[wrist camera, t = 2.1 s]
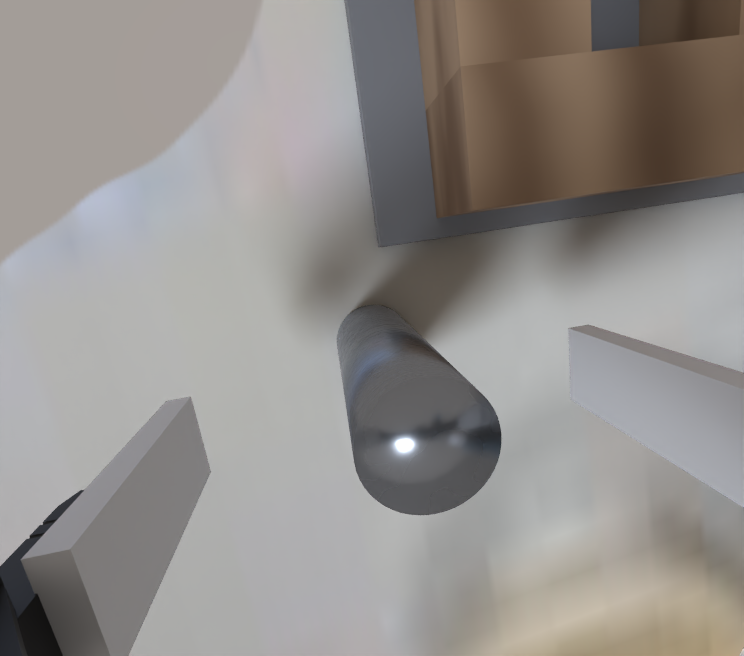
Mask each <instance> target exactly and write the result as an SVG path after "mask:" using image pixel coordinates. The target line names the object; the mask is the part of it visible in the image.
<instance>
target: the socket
mask: <svg viewBox="0 0 744 656" xmlns="http://www.w3.org/2000/svg"><path fill="white" fill-rule="evenodd" d="M345 8H346V15H347V22H348V29H349V37H350V44H351V51H352V59H353V66H354V73H355V80H356V88H357V95H358V102H359V109H360V117H361V124H362V131H363V139H364V146H365V153H366V160H367V168H368V175H369V182H370V189H371V197H372V204H373V211H374V219H375V226H376V233H377V240H378V247H385V246H392V245H398V244H405V243H411V242H418V241H425V240H431V239H438V238H445V237H451V236H458V235H465V234H471V233H478V232H484V231H491V230H498V229H504V228H511V227H518V226H524V225H531V224H538V223H544V222H551V221H558V220H564V219H571V218H577V217H584V216H591V215H597V214H604V213H611V212H617V211H624V210H631V209H637V208H644V207H651V206H657V205H664V204H670V203H677V202H684V201H690V200H697V199H704V198H710V197H717V196H724V195H730V194H737V193H743V192H744V0H345Z"/></svg>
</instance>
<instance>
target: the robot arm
mask: <svg viewBox="0 0 744 656" xmlns="http://www.w3.org/2000/svg"><path fill="white" fill-rule="evenodd" d="M568 329H569V362H570V396H571V400H572V401H574V402H575V403H577V404H579V405H580V406H582V407H583V408H585V409H587V410H588V411H590V412H591V413H593V414H595V415H596V416H598V417H599V418H601V419H603V420H604V421H606V422H607V423H609V424H611V425H612V426H614V427H615V428H617V429H619V430H620V431H622V432H623V433H625V434H627V435H628V436H630V437H631V438H633V439H635V440H636V441H638V442H639V443H641V444H643V445H644V446H646V447H647V448H649V449H651V450H652V451H654V452H655V453H657V454H659V455H660V456H662V457H663V458H665V459H667V460H668V461H670V462H671V463H673V464H675V465H676V466H678V467H679V468H681V469H683V470H684V471H686V472H687V473H689V474H691V475H692V476H694V477H695V478H697V479H699V480H700V481H702V482H703V483H705V484H707V485H708V486H710V487H711V488H713V489H715V490H716V491H718V492H719V493H721V494H723V495H724V496H726V497H727V498H729V499H731V500H732V501H734V502H735V503H737V504H739V505H740V506H742V507H743V508H744V373H742V372H739V371H736V370H733V369H729V368H726V367H723V366H720V365H717V364H713V363H710V362H707V361H704V360H700V359H697V358H694V357H691V356H688V355H684V354H681V353H678V352H675V351H671V350H668V349H665V348H662V347H659V346H655V345H652V344H649V343H646V342H643V341H639V340H636V339H633V338H630V337H626V336H623V335H620V334H617V333H614V332H610V331H607V330H604V329H601V328H597V327H594V326H591V325H584V326H578V327H573V328H568ZM210 472H211V471H210V467H209V463H208V459H207V456H206V452H205V448H204V444H203V441H202V437H201V433H200V429H199V426H198V422H197V418H196V414H195V410H194V407H193V403H192V399H191V397H186V398H181V399H175V400H170V401H166V402H165V403H164V404H163V405H162V406H161V407H160V409H159V410H158V411H157V412H156V413H155V414H154V415H153V416H152V417H151V418H150V419H149V421H148V422H147V423H146V424H145V425H144V426H143V427H142V428H141V429H140V430H139V431H138V432H137V434H136V435H135V436H134V437H133V438H132V439H131V440H130V441H129V442H128V443H127V444H126V446H125V447H124V448H123V449H122V450H121V451H120V452H119V453H118V454H117V455H116V456H115V457H114V459H113V460H112V461H111V462H110V463H109V464H108V465H107V466H106V467H105V468H104V469H103V471H102V472H101V473H100V474H99V475H98V476H97V477H96V478H95V479H94V480H93V481H92V483H91V484H90V485H89V486H88V487H87V488H86V489H85V490H81V491H79V492H78V493H76V494H75V495H73V496H72V497H71V498H69V499H68V500H66V501H65V502H63V503H62V504H61V505H59V506H58V507H57V508H56V509H55V510H54V511H53V512H52V513H51V514H50V515H49V516H48V517H47V518H46V519H45V520H44V522H43V525H40V526H39V527H38V528H37V529H36V530H35V531H34V532H33V533H32V534H31V535H30V539H26V540H25V541H24V542H23V543H22V544H21V545H20V546H19V547H18V549H17V550H16V551H15V552H14V553H13V554H12V555H11V556H10V557H9V558H8V559H7V560H6V561H5V562H4V563H3V564H2V565H1V566H0V656H128V655H129V653H130V651H131V648H132V646H133V644H134V642H135V640H136V637H137V635H138V633H139V631H140V628H141V626H142V624H143V622H144V619H145V617H146V615H147V613H148V611H149V608H150V606H151V604H152V602H153V599H154V597H155V595H156V593H157V590H158V588H159V586H160V584H161V582H162V579H163V577H164V575H165V573H166V570H167V568H168V566H169V564H170V561H171V559H172V557H173V555H174V553H175V550H176V548H177V546H178V544H179V541H180V539H181V537H182V535H183V532H184V530H185V528H186V526H187V524H188V521H189V519H190V517H191V515H192V512H193V510H194V508H195V506H196V504H197V501H198V499H199V497H200V495H201V492H202V490H203V488H204V486H205V483H206V481H207V479H208V477H209V475H210Z"/></svg>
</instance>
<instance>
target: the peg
mask: <svg viewBox="0 0 744 656" xmlns="http://www.w3.org/2000/svg"><path fill="white" fill-rule="evenodd" d="M337 347H338V354H339V361H340V368H341V375H342V382H343V388H344V395H345V402H346V409H347V416H348V422H349V429H350V436H351V443H352V450H353V457H354V463H355V467H356V471H357V474H358V476H359V479H360V481H361V482H362V484H363V486H364V488H365V489H366V490H367V491H368V492H369V494H370V495H371V496H372V497H373V498H375V499H376V500H377V501H378V502H380V503H381V504H383V505H384V506H386V507H388V508H390V509H392V510H395V511H398V512H401V513H405V514H411V515H430V514H436V513H440V512H444V511H447V510H450V509H452V508H455V507H457V506H459V505H460V504H462V503H464V502H465V501H467V500H468V499H470V498H471V497H472V496H474V495H475V494H476V493H477V492H478V491H479V490H480V489H481V488H482V487H483V486H484V485H485V483H486V482H487V480H488V479H489V478H490V476H491V474H492V472H493V471H494V469H495V466H496V464H497V461H498V458H499V454H500V449H501V429H500V424H499V421H498V417H497V415H496V413H495V411H494V409H493V407H492V406H491V404H490V403H489V401H488V400H487V399H486V398H485V397H484V396H483V394H481V393H480V392H479V391H478V390H477V389H476V388H475V387H474V386H473V385H472V384H471V383H470V382H469V381H468V380H467V379H466V378H465V377H464V376H462V375H461V374H460V373H459V372H458V371H457V370H456V369H455V368H454V367H453V366H452V365H451V364H450V363H449V362H448V361H447V360H446V359H445V358H444V357H442V356H441V355H440V354H439V353H438V352H437V351H436V350H435V349H434V348H433V347H432V346H431V345H430V344H429V343H428V342H427V341H426V340H425V339H423V338H422V337H421V336H420V335H419V334H418V333H417V332H416V331H415V330H414V329H413V328H412V327H411V326H410V325H409V324H408V323H407V322H406V321H405V320H403V319H402V318H401V317H400V316H399V315H398V314H397V313H396V312H395V311H393V310H391V309H389V308H387V307H384V306H380V305H367V306H363V307H360V308H358V309H356V310H354V311H353V312H351V313H350V314H349V315H348V316H347V317H346V318H345V319H344V321H343V322H342V324H341V326H340V328H339V331H338V335H337Z"/></svg>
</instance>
